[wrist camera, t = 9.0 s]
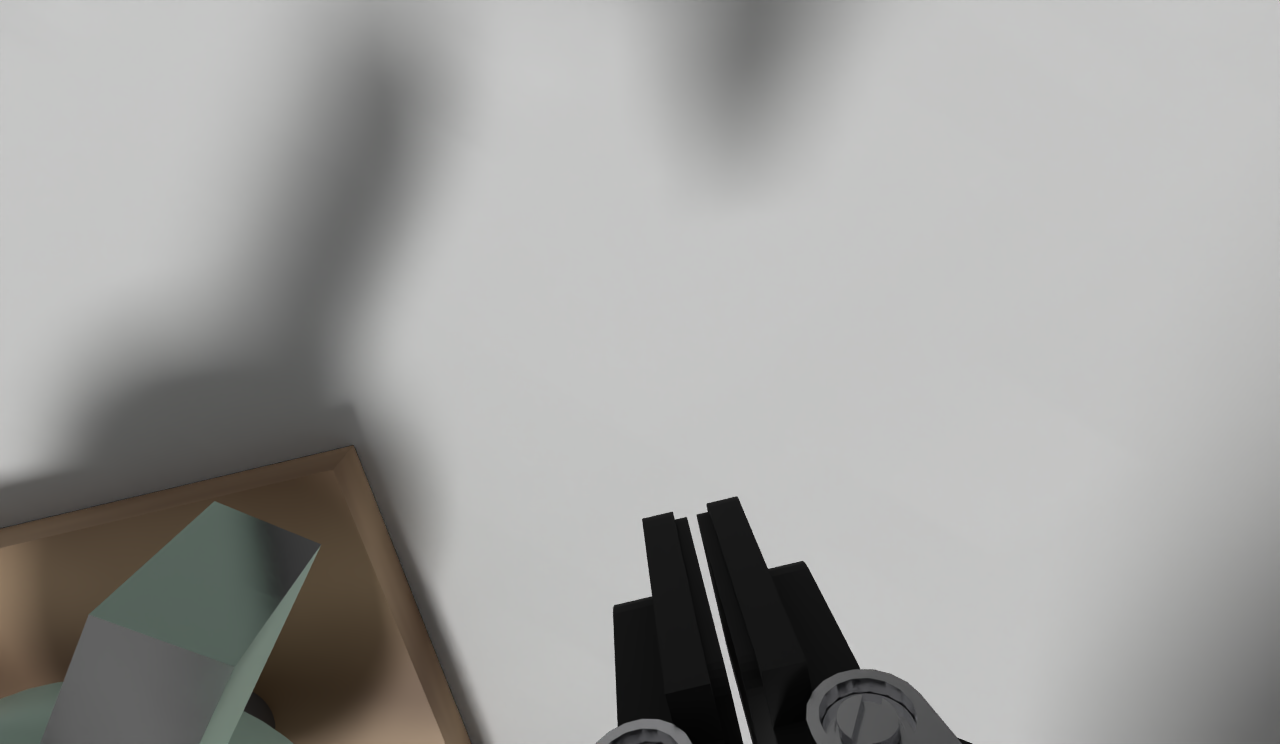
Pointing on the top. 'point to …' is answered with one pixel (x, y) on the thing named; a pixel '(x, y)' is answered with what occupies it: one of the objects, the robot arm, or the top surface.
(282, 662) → the walnut board
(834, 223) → the top surface
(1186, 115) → the top surface
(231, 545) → the green door lever handle
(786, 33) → the top surface
